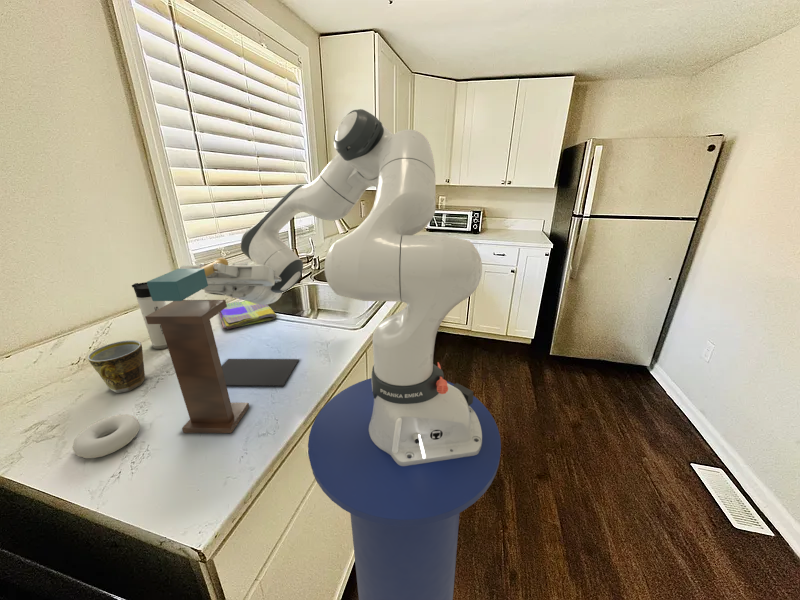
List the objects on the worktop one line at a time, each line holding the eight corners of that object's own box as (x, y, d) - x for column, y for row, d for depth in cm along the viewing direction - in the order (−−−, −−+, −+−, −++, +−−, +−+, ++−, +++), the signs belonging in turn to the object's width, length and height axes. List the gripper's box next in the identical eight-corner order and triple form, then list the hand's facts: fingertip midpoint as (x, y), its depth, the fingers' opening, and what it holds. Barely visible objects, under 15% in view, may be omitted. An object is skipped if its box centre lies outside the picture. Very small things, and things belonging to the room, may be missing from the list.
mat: (298, 360, 91) (298, 359, 91) (283, 386, 80) (283, 385, 80) (228, 360, 92) (228, 358, 92) (203, 386, 81) (203, 384, 81)
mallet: (237, 269, 73) (234, 254, 72) (181, 301, 55) (175, 281, 54) (215, 269, 73) (211, 254, 72) (152, 301, 55) (146, 281, 54)
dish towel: (264, 299, 136) (263, 293, 135) (278, 320, 117) (277, 313, 116) (217, 308, 127) (216, 302, 126) (224, 332, 108) (222, 325, 107)
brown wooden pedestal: (249, 406, 73) (225, 299, 64) (231, 433, 66) (201, 316, 56) (206, 406, 74) (175, 299, 64) (183, 432, 66) (145, 316, 57)
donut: (136, 450, 62) (146, 417, 70) (130, 436, 61) (141, 404, 69) (67, 471, 58) (86, 433, 66) (59, 457, 57) (80, 420, 65)
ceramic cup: (113, 378, 84) (99, 344, 81) (158, 370, 88) (147, 337, 84) (88, 409, 73) (71, 372, 69) (140, 399, 76) (127, 362, 73)
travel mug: (157, 340, 103) (138, 280, 96) (180, 338, 104) (163, 279, 97) (147, 350, 98) (126, 287, 90) (172, 348, 99) (153, 285, 91)
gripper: (283, 293, 79) (257, 282, 66) (201, 293, 80) (158, 282, 66) (284, 268, 80) (259, 251, 67) (203, 269, 81) (162, 252, 67)
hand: (208, 267), depth 66 cm, fingers closed on mallet, 2 cm apart
